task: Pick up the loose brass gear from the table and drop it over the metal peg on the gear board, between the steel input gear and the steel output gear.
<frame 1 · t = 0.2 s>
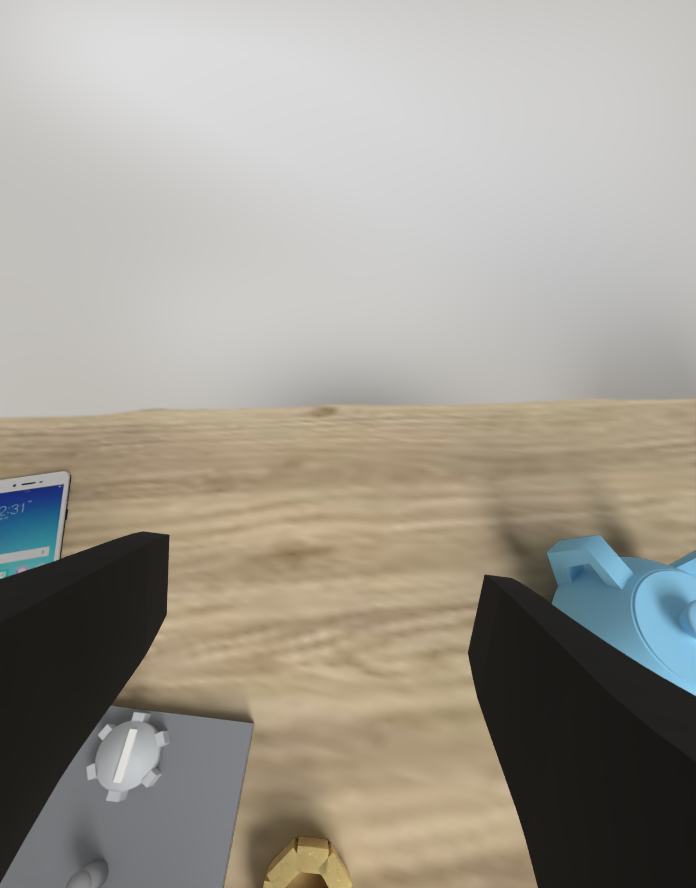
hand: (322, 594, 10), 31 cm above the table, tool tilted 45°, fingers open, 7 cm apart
gear board: (104, 869, 29), on the table
teapot: (619, 647, 39), on the table
smartphone: (22, 550, 40), on the table
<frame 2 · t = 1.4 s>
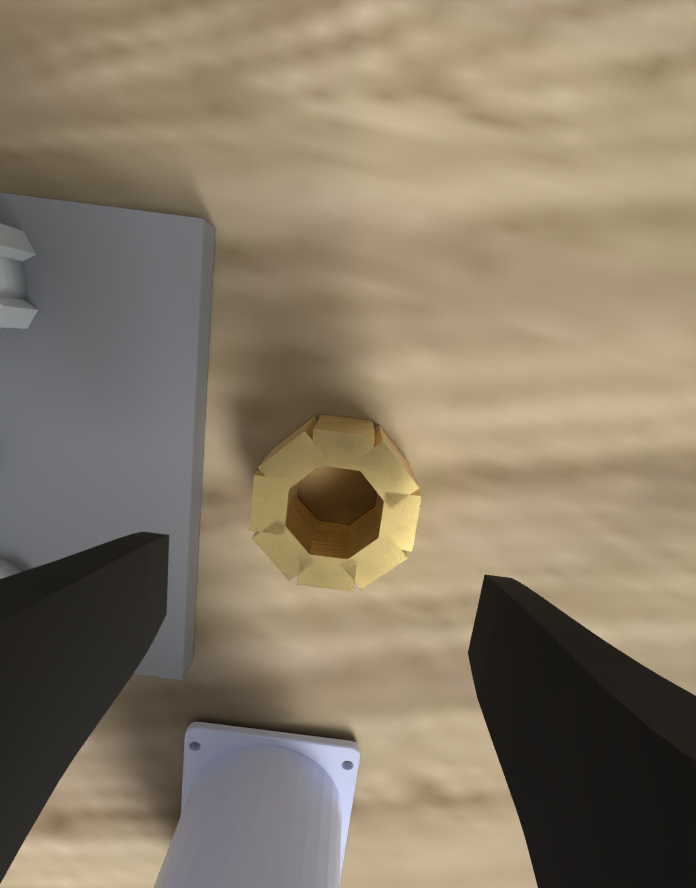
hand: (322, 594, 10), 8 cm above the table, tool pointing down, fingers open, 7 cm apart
gear board: (5, 443, 18), on the table
brass gear: (338, 485, 18), on the table
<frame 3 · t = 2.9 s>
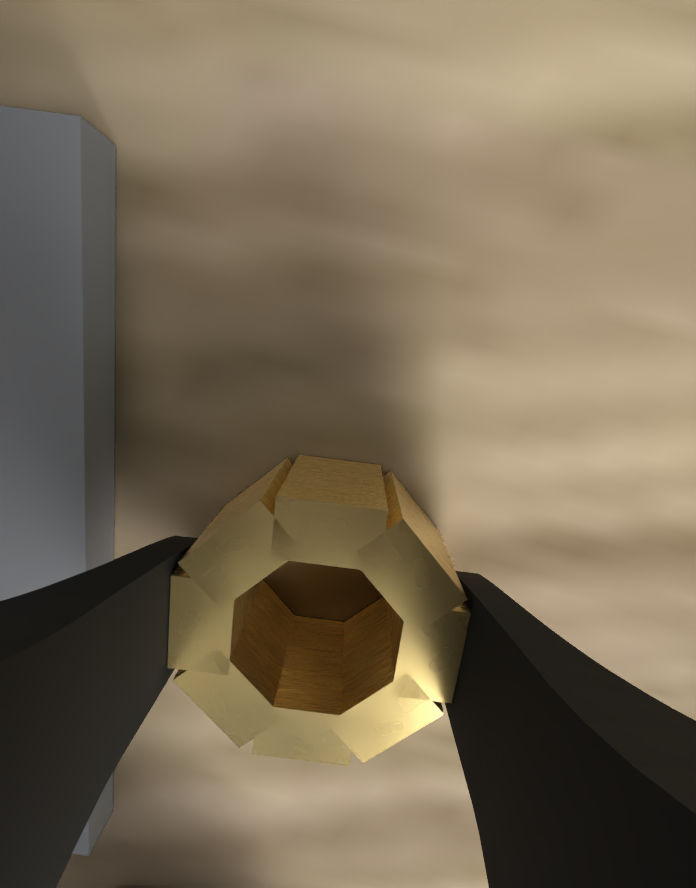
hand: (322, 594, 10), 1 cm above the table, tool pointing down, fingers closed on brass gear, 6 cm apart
brass gear: (326, 564, 11), on the table, touching gripper
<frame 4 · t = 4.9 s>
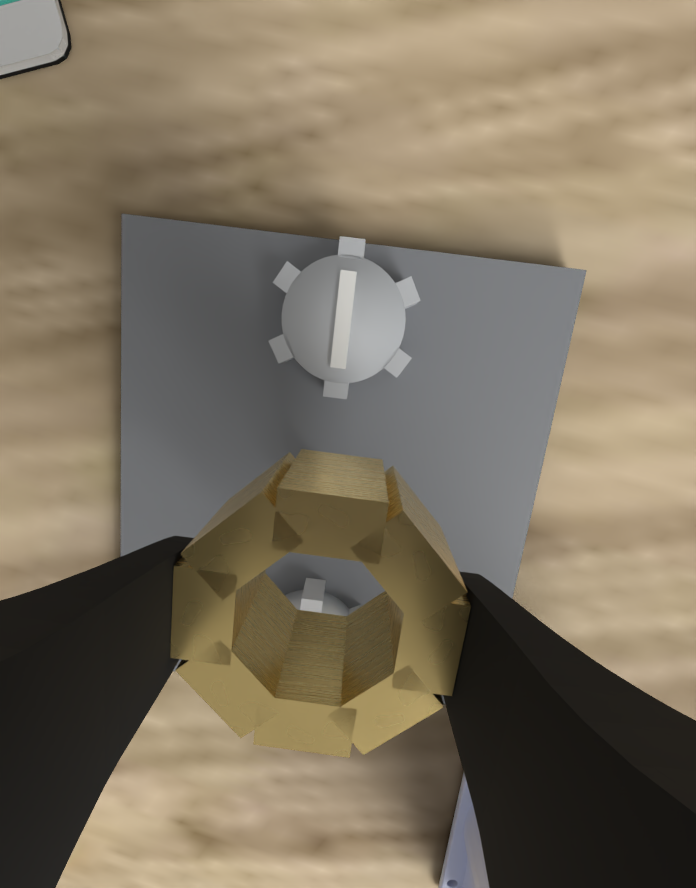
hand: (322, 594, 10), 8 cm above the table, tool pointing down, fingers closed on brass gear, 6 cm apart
gear board: (328, 481, 18), on the table
brass gear: (328, 558, 11), point 7 cm above the table, touching gripper
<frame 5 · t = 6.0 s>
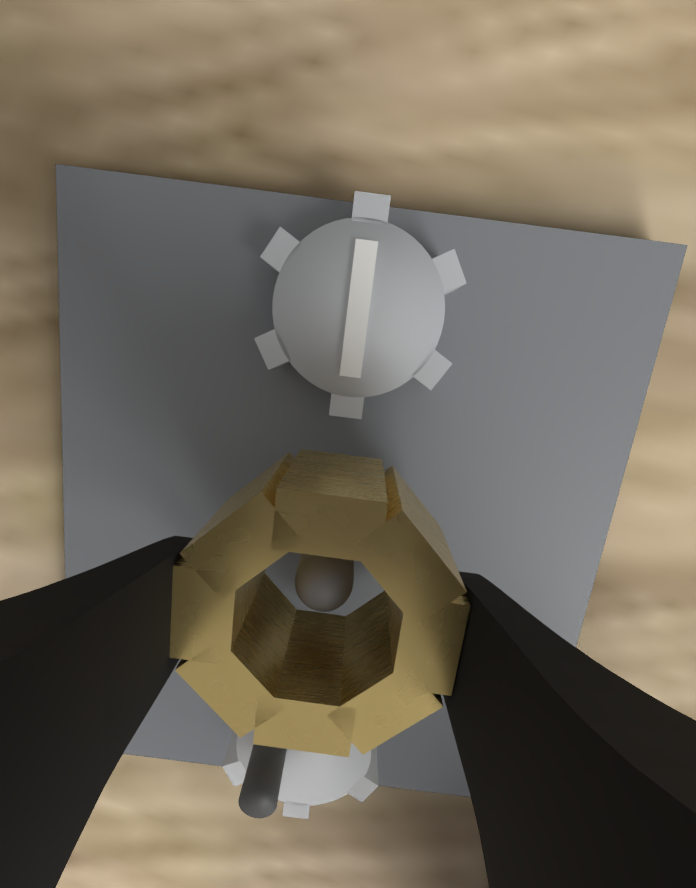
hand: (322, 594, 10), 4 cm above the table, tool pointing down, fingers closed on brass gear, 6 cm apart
gear board: (333, 518, 14), on the table
brass gear: (328, 558, 11), point 3 cm above the table, touching gripper
when the fingers open (4 cm above the table, at t = 6.9 s): brass gear drops 2 cm, resting on gear board.
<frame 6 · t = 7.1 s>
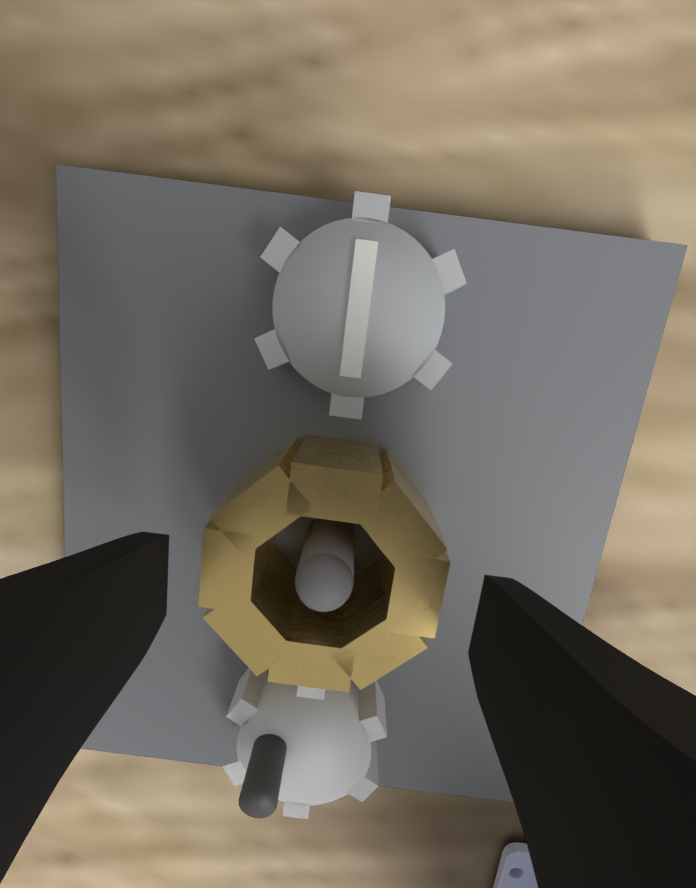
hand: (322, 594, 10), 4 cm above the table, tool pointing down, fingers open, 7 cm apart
gear board: (333, 518, 14), on the table
brass gear: (330, 530, 13), point 1 cm above the table, touching gear board
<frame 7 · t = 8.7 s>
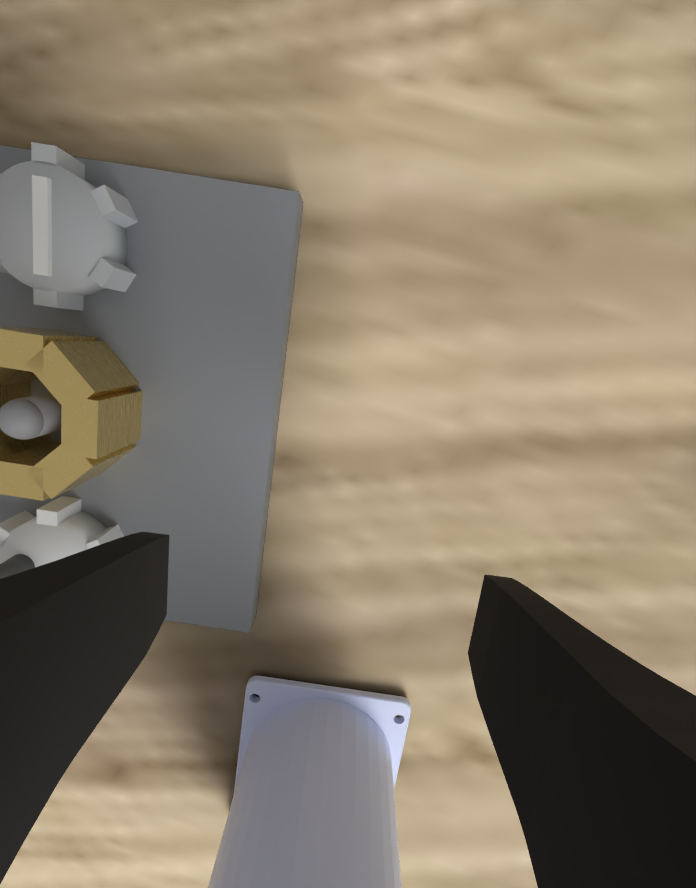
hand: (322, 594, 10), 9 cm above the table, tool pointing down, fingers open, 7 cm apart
gear board: (90, 403, 19), on the table
brass gear: (71, 404, 17), point 1 cm above the table, touching gear board
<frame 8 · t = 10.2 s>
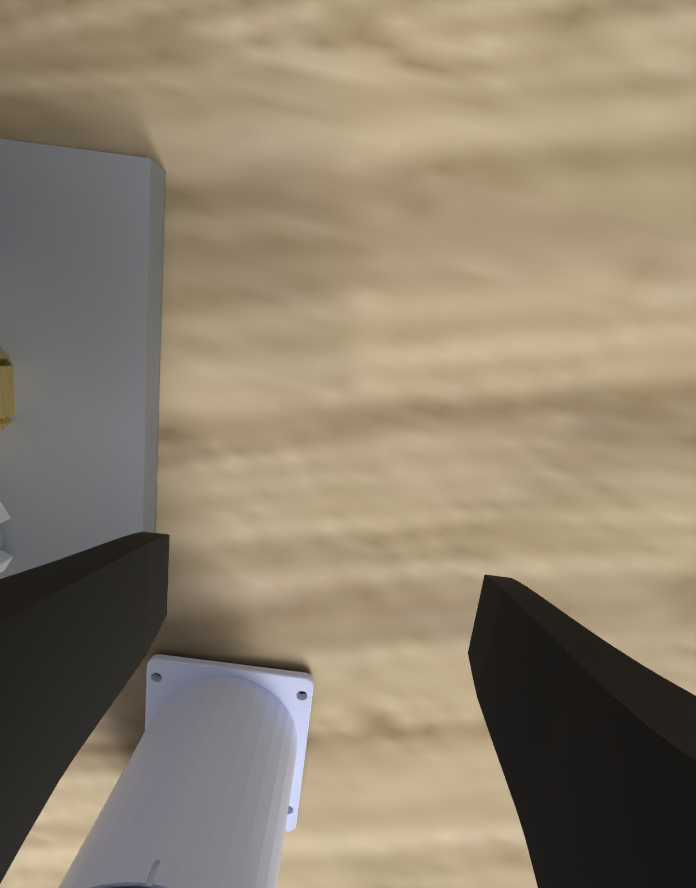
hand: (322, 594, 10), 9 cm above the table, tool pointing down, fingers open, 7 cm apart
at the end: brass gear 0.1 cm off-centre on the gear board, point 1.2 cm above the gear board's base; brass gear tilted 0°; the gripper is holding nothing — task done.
